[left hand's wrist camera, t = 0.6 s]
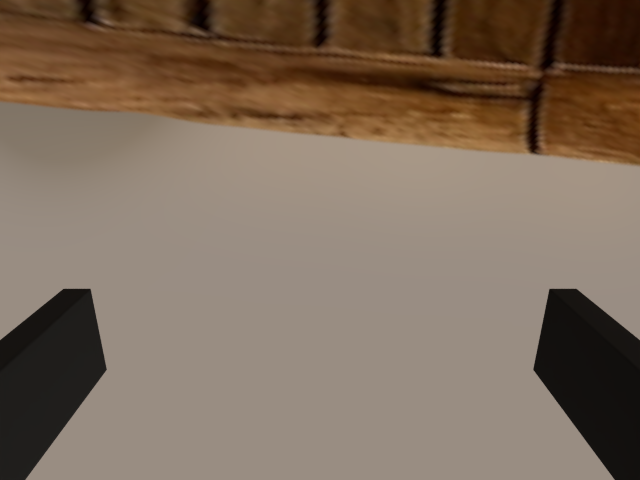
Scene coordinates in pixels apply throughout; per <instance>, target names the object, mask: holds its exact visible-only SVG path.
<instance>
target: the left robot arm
mask: <svg viewBox="0 0 640 480" xmlns="http://www.w3.org/2000/svg"><path fill="white" fill-rule="evenodd" d="M106 370H107V369H106V364H105V359H104V354H103V349H102V344H101V339H100V334H99V329H98V324H97V319H96V314H95V309H94V304H93V299H92V294H91V289H63V290H62V291H60V292H59V293H58V294H57V295H56V296H54V297H53V298H52V299H51V300H49V301H48V302H47V303H46V304H44V305H43V306H42V307H41V308H39V309H38V310H37V311H36V312H35V313H33V314H32V315H31V316H30V317H28V318H27V319H26V320H25V321H23V322H22V323H21V324H20V325H18V326H17V327H16V328H15V329H14V330H12V331H11V332H10V333H9V334H7V335H6V336H5V337H4V338H2V339H1V340H0V480H25V479H26V478H27V477H28V475H29V474H30V473H31V471H32V470H33V468H34V467H35V466H36V464H37V463H38V462H39V460H40V459H41V458H42V456H43V455H44V454H45V452H46V451H47V450H48V448H49V447H50V446H51V444H52V443H53V441H54V440H55V439H56V437H57V436H58V435H59V433H60V432H61V431H62V429H63V428H64V427H65V425H66V424H67V422H68V421H69V420H70V418H71V417H72V416H73V414H74V413H75V412H76V410H77V409H78V408H79V406H80V405H81V404H82V402H83V401H84V400H85V398H86V397H87V396H88V394H89V393H90V391H91V390H92V389H93V387H94V386H95V385H96V383H97V382H98V381H99V379H100V378H101V377H102V375H103V374H104V373H105V371H106ZM534 371H535V372H536V374H537V375H538V377H539V378H540V379H541V381H542V382H543V383H544V385H545V386H546V387H547V389H548V390H549V391H550V393H551V394H552V395H553V397H554V398H555V400H556V401H557V402H558V404H559V405H560V406H561V408H562V409H563V410H564V412H565V413H566V414H567V416H568V417H569V418H570V420H571V421H572V423H573V424H574V425H575V427H576V428H577V429H578V431H579V432H580V433H581V435H582V436H583V437H584V439H585V440H586V441H587V443H588V444H589V445H590V447H591V448H592V450H593V451H594V452H595V454H596V455H597V456H598V458H599V459H600V460H601V462H602V463H603V464H604V466H605V467H606V468H607V470H608V471H609V473H610V474H611V475H612V477H613V478H614V479H615V480H640V340H639V339H638V338H636V337H635V336H634V335H633V334H631V333H630V332H629V331H628V330H626V329H625V328H624V327H623V326H622V325H620V324H619V323H618V322H617V321H615V320H614V319H613V318H612V317H610V316H609V315H608V314H607V313H605V312H604V311H603V310H602V309H601V308H599V307H598V306H597V305H596V304H594V303H593V302H592V301H591V300H589V299H588V298H587V297H586V296H584V295H583V294H582V293H581V292H580V291H578V290H577V289H550V290H549V294H548V299H547V304H546V309H545V314H544V319H543V324H542V329H541V334H540V339H539V344H538V349H537V354H536V359H535V364H534Z"/></svg>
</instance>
